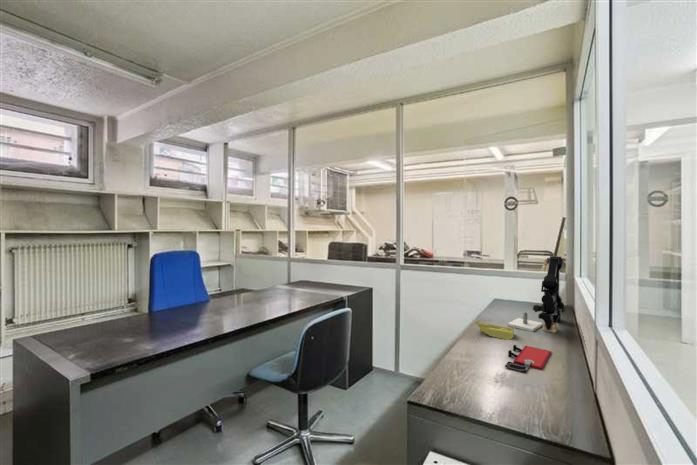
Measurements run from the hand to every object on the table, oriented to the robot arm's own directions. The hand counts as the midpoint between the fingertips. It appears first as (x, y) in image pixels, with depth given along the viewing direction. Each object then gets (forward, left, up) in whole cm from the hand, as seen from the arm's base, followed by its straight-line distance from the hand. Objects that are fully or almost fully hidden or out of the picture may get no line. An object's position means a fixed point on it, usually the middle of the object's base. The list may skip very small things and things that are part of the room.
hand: (550, 328), depth 190 cm
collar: (0, 0, -1) cm, 1 cm away
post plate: (+1, -13, -1) cm, 13 cm away
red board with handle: (+49, +6, -2) cm, 50 cm away
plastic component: (+27, -19, -2) cm, 33 cm away
